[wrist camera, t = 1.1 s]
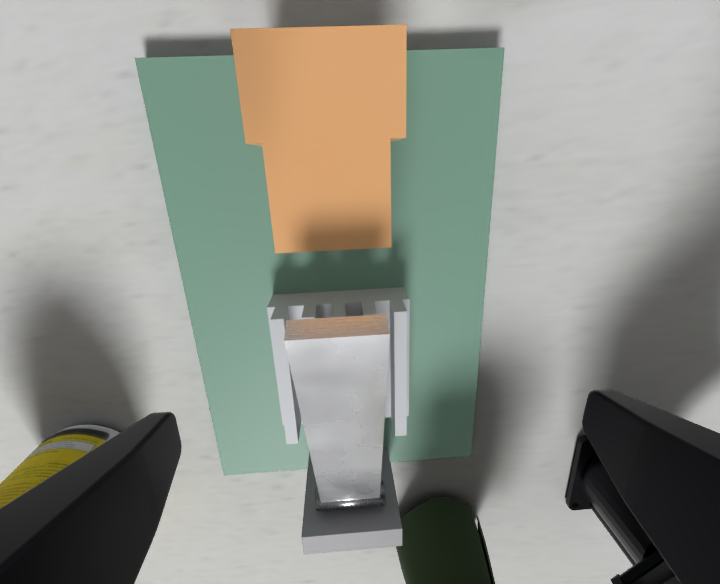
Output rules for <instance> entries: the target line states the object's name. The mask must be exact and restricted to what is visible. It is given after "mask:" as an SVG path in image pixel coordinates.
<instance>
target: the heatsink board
mask: <svg viewBox="0 0 720 584" xmlns="http://www.w3.org/2000/svg"><path fill="white" fill-rule="evenodd" d="M503 59H504V48H468V49H433V50H407V62H406V138H403V139H400V140H396V141H393V142H390V144H391V246H392V247H389V248H370V249H351V250H332V251H313V252H294V253H275V248H274V240H273V231H272V223H271V215H270V206H269V198H268V190H267V181H266V173H265V165H264V157H263V148H262V146H256V145H250V144H246V143H245V136H244V129H243V121H242V114H241V106H240V99H239V91H238V84H237V76H236V69H235V62H234V55H221V56H185V57H150V58H135V61H136V66H137V71H138V75H139V80H140V85H141V89H142V94H143V99H144V103H145V108H146V113H147V117H148V122H149V127H150V132H151V136H152V141H153V146H154V150H155V155H156V160H157V164H158V169H159V174H160V178H161V183H162V188H163V192H164V197H165V202H166V206H167V211H168V216H169V221H170V225H171V230H172V235H173V239H174V244H175V249H176V253H177V258H178V263H179V267H180V272H181V277H182V281H183V286H184V291H185V295H186V300H187V305H188V309H189V314H190V319H191V324H192V328H193V333H194V338H195V342H196V347H197V352H198V356H199V361H200V366H201V370H202V375H203V380H204V384H205V389H206V394H207V398H208V403H209V408H210V413H211V417H212V422H213V427H214V431H215V436H216V441H217V445H218V450H219V455H220V459H221V464H222V469H223V473H224V475H236V474H248V473H261V472H274V471H286V470H299V469H308V471H307V482H306V493H305V505H304V516H303V527H302V545H303V552H304V554H315V553H326V552H338V551H349V550H360V549H371V548H382V547H393V546H402V524H401V519H400V513H399V508H398V502H397V497H396V491H395V486H394V480H393V475H392V469H391V463H390V462H400V461H413V460H426V459H438V458H451V457H464V456H471V453H472V441H473V428H474V416H475V404H476V391H477V379H478V367H479V354H480V342H481V330H482V317H483V305H484V293H485V281H486V268H487V256H488V244H489V231H490V219H491V207H492V194H493V182H494V170H495V157H496V145H497V133H498V120H499V108H500V96H501V84H502V71H503ZM381 314H386V315H387V321H388V326H389V332H390V340H389V356H388V372H387V388H386V405H385V421H384V437H383V453H382V469H381V480H384V486H385V497H386V505H384V506H372V507H360V508H348V509H337V510H325V511H316V509H315V486H316V485H317V483H316V479H315V474H314V470H313V465H312V461H311V457H310V452H309V448H308V444H307V439H306V435H305V431H304V426H303V422H302V417H301V413H300V409H299V404H298V400H297V396H296V391H295V387H294V382H293V378H292V374H291V369H290V365H289V361H288V356H287V352H286V347H285V343H284V336H285V326H286V320H299V319H315V318H332V317H348V316H365V315H381Z"/></svg>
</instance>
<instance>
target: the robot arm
mask: <svg viewBox="0 0 720 584" xmlns="http://www.w3.org/2000/svg"><path fill="white" fill-rule="evenodd" d="M582 425H583V429H584V432H585V434H586V435H583V436H582V437H580V438H579V440H578V443H577V448H576V453H575V458H574V463H573V468H572V472H571V477H570V482H569V487H568V492H567V497H566V504H567V505H568V507H569V508H570V509H571V510H582V509H592V510H593V511H594V513H595V514H596V516H597V517H598V518H599V520H600V521H601V522H602V524H603V525H604V527H605V528H606V529H607V531H608V532H609V533H610V535H611V536H612V537H613V539H614V540H615V542H616V543H617V544H618V546H619V547H620V548H621V550H622V551H623V553H624V554H625V555H626V557H627V558H628V559H629V561H630V562H631V563H632V565H633V566H632V567H631V568H630V569H628V570H627V571H625V572H624V573H622V574H621V575H619V574H617V575H616V576H615V577H613V578H612V579H611V581H612V583H613V584H720V433H717V432H715V431H712V430H710V429H707V428H705V427H703V426H700V425H698V424H695V423H693V422H690V421H688V420H685V419H683V418H680V417H678V416H675V415H673V414H670V413H668V412H665V411H663V410H661V409H658V408H656V407H653V406H651V405H648V404H646V403H643V402H641V401H638V400H636V399H633V398H631V397H628V396H626V395H623V394H621V393H619V392H616V391H613V390H593V391H591V392H590V393H589V395H588V398H587V403H586V407H585V411H584V415H583V420H582ZM180 455H181V440H180V436H179V431H178V427H177V422H176V418H175V416H174V414H173V413H171V412H161V413H152V414H149V415H148V416H146V417H145V418H143V419H141V420H140V421H138V422H137V423H135V424H133V425H132V426H130V427H129V428H127V429H125V430H124V431H122V432H121V433H119V434H118V435H116V436H114V437H113V438H111V439H110V440H108V441H106V442H105V443H103V444H102V445H100V446H98V447H97V448H95V449H94V450H92V451H91V452H89V453H87V454H86V455H84V456H83V457H81V458H79V459H78V460H76V461H75V462H73V463H72V464H70V465H68V466H67V467H65V468H64V469H62V470H60V471H59V472H57V473H56V474H54V475H52V476H51V477H49V478H48V479H46V480H45V481H43V482H41V483H40V484H38V485H37V486H35V487H33V488H32V489H30V490H29V491H27V492H25V493H24V494H22V495H21V496H19V497H18V498H16V499H14V500H13V501H11V502H10V503H8V504H6V505H5V506H3V507H2V508H0V584H134V583H135V580H136V578H137V576H138V573H139V571H140V569H141V566H142V564H143V562H144V559H145V557H146V555H147V552H148V550H149V548H150V545H151V543H152V540H153V538H154V535H155V533H156V530H157V527H158V524H159V522H160V519H161V516H162V512H163V509H164V506H165V503H166V500H167V496H168V493H169V490H170V487H171V484H172V480H173V477H174V474H175V471H176V468H177V465H178V461H179V458H180Z"/></svg>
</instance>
